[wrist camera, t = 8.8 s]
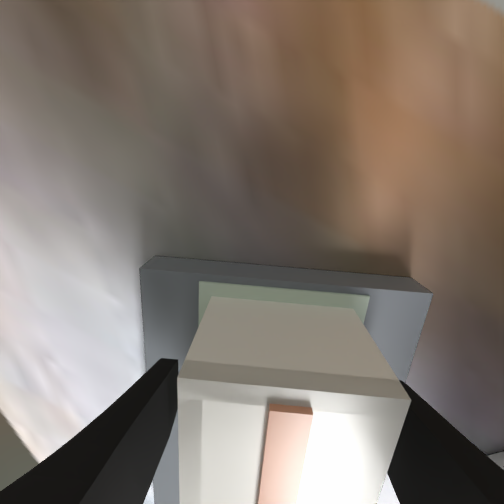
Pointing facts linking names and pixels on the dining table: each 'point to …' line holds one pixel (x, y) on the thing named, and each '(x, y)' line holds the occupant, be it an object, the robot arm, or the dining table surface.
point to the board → (277, 290)
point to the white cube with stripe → (285, 407)
